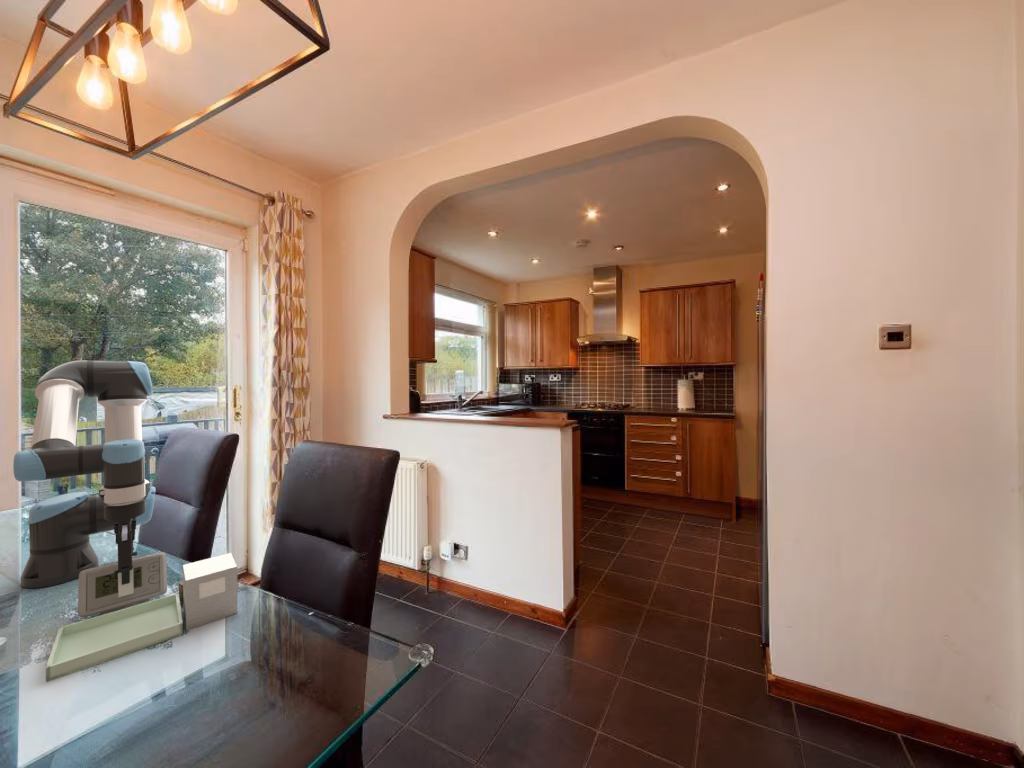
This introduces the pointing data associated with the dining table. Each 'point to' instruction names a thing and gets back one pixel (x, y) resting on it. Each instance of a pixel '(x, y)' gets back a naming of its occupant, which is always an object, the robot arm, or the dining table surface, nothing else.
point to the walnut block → (181, 591)
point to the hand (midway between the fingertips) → (126, 588)
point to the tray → (114, 635)
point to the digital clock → (103, 585)
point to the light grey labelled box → (209, 590)
